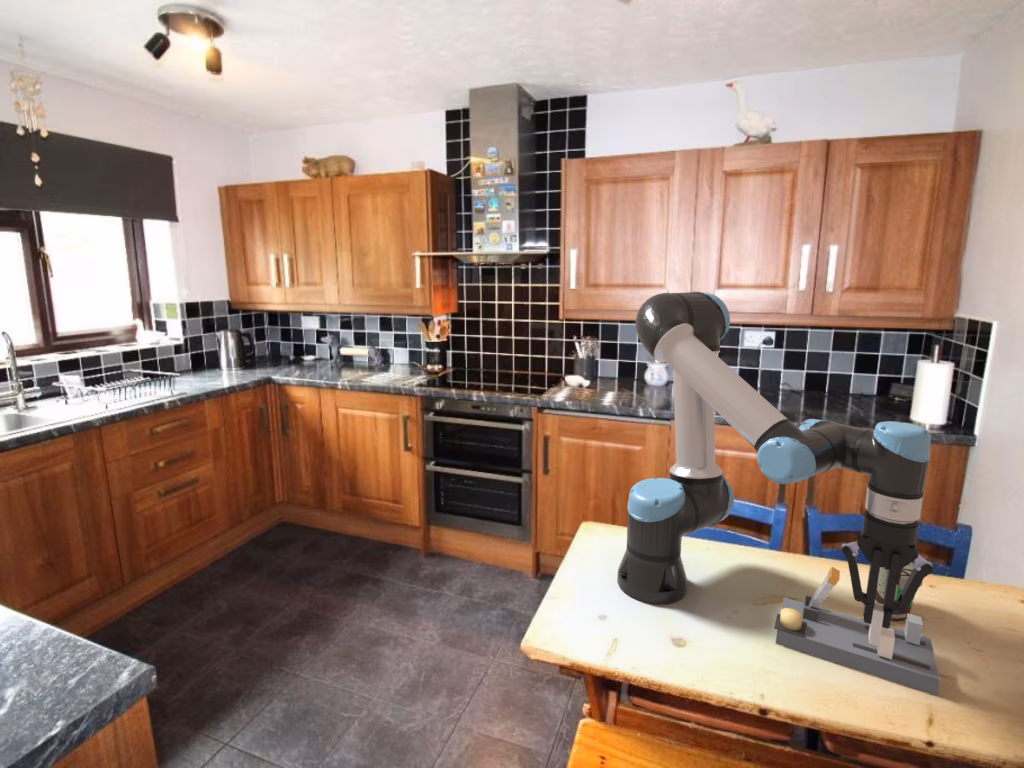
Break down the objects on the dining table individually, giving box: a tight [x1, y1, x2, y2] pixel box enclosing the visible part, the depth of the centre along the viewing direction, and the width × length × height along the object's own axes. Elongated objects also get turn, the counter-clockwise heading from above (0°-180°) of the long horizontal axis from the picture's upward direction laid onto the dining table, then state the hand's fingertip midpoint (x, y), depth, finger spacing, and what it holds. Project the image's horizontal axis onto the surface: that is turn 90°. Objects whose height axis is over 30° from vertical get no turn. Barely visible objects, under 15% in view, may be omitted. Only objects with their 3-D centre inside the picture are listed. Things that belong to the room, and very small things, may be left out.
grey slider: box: [904, 613, 924, 645], centre depth 96 cm, size 2×3×4 cm
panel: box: [774, 593, 941, 696], centre depth 98 cm, size 24×12×5 cm, turn 58°
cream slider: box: [877, 627, 895, 660], centre depth 92 cm, size 2×3×4 cm
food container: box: [875, 561, 923, 623], centre depth 109 cm, size 12×6×10 cm, turn 168°
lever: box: [808, 566, 841, 610], centre depth 102 cm, size 1×4×10 cm, turn 148°
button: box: [780, 608, 803, 631], centre depth 100 cm, size 4×4×2 cm
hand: (873, 640), depth 93 cm, fingers closed
